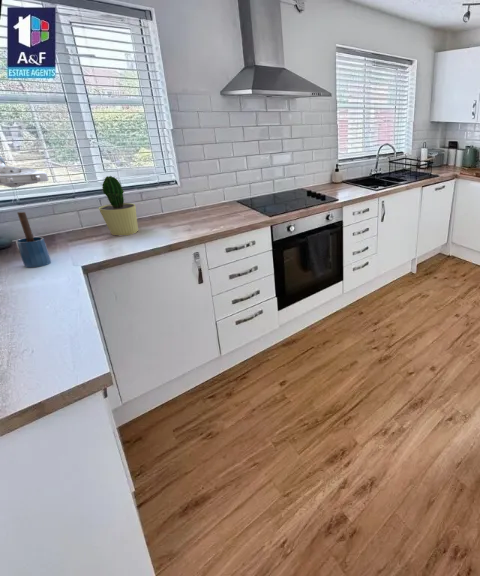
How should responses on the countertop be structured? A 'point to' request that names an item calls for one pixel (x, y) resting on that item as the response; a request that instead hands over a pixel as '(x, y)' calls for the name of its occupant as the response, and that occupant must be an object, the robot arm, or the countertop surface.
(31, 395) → the countertop surface
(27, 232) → the brush
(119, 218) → the potted cactus
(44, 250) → the blue ribbed tumbler
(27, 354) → the countertop surface
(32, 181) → the robot arm
